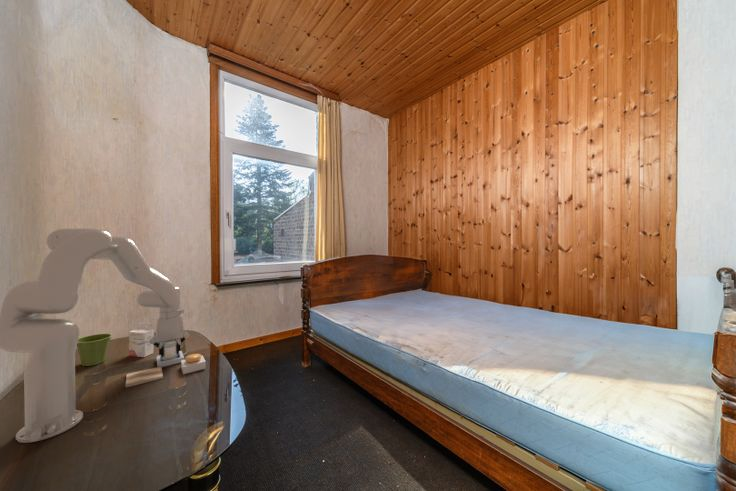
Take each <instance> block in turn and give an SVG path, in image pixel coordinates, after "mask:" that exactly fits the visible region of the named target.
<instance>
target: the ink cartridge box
mask: <svg viewBox="0 0 736 491" xmlns="http://www.w3.org/2000/svg"><path fill="white" fill-rule="evenodd" d="M154 335H155V334H154V323H153V322H152V323H151V322H138V323H137V328H136V329H133V330H130V331H128V356H129V357H138V358H139V357H140V358H146V357H147V356H150V355H152V354H154V347H155V346H154V345H152V344H150V343H149V341H150V339H151V338H152V337H153V336H154Z"/></svg>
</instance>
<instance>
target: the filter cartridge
mask: <svg viewBox="0 0 736 491" xmlns="http://www.w3.org/2000/svg"><path fill="white" fill-rule="evenodd" d="M162 346H163V360H162V361H166V360H171V359H175V358H178V357H177V339H174V340H168V341H164V343H163V345H162Z"/></svg>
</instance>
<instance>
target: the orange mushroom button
mask: <svg viewBox="0 0 736 491" xmlns="http://www.w3.org/2000/svg"><path fill="white" fill-rule="evenodd" d="M201 356H202V354H201V353H192V354H188V355H187V356H185V357H184V359H185V361H186V362H190V363H192V362H196V361H198V360H200V359H201Z"/></svg>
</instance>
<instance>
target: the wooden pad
mask: <svg viewBox="0 0 736 491" xmlns="http://www.w3.org/2000/svg"><path fill="white" fill-rule="evenodd" d="M162 368H163V367H161V366H159V367H156V366H155V367H152V368H148V369H143V370H138V371H134V372H131V373H127V374H126V378H125V387H124V388H129V387H130V388H131V387H134V386H138V385H141V384H142V385H143V384H145V383H149V382H153V381H157V380H161V379H164V376H163V375H164V374H163V370H162Z"/></svg>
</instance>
